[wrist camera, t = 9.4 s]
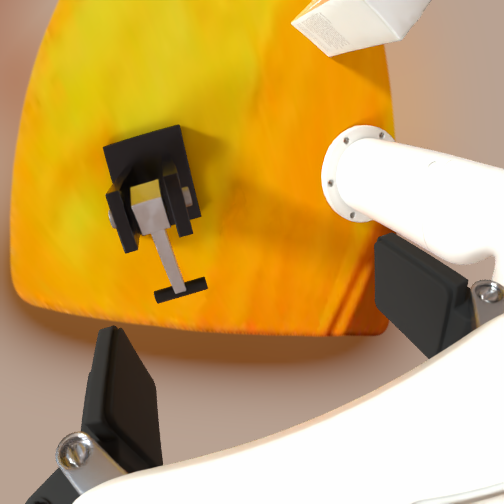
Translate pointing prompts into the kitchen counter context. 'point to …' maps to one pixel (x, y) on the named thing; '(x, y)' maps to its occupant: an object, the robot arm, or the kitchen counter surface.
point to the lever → (161, 238)
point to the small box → (357, 23)
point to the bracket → (149, 169)
